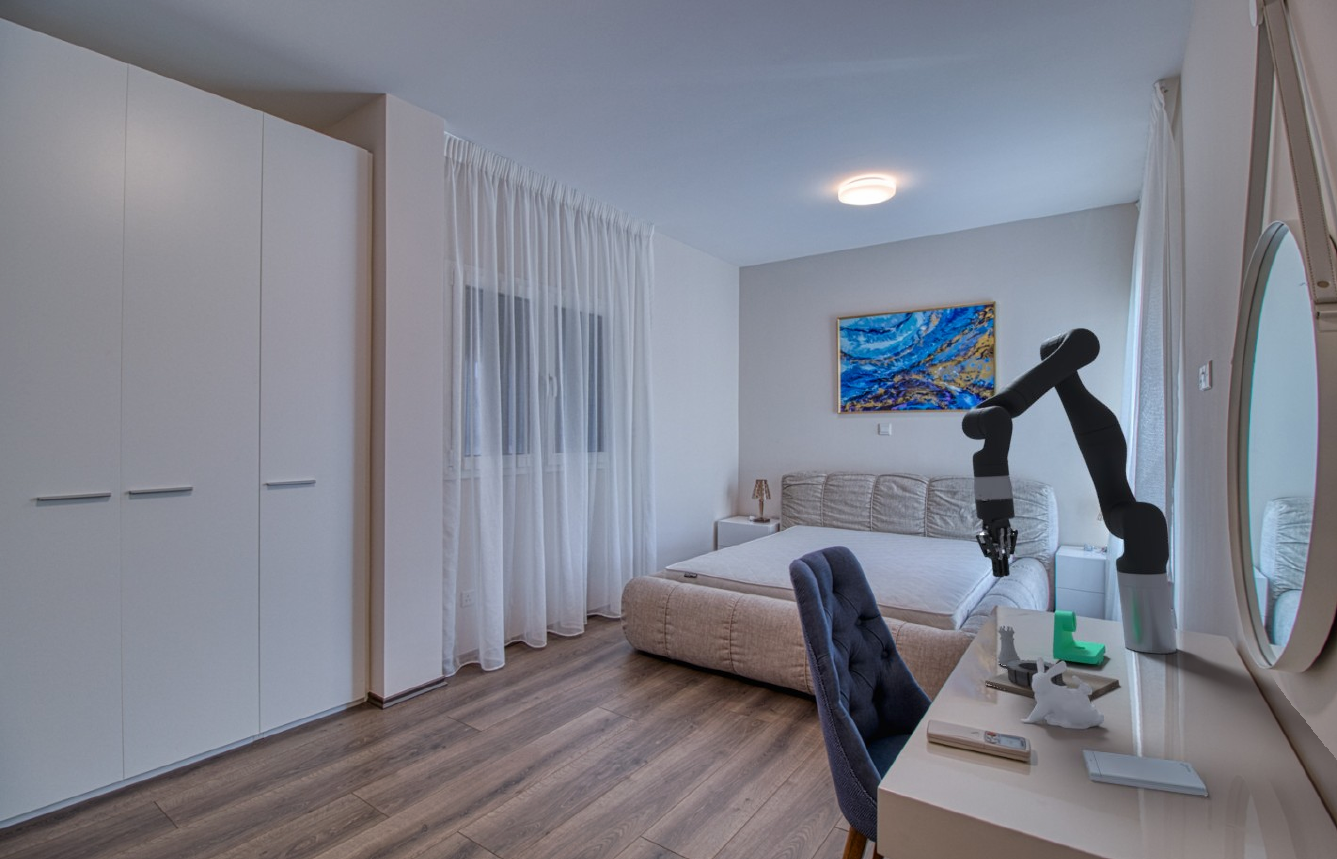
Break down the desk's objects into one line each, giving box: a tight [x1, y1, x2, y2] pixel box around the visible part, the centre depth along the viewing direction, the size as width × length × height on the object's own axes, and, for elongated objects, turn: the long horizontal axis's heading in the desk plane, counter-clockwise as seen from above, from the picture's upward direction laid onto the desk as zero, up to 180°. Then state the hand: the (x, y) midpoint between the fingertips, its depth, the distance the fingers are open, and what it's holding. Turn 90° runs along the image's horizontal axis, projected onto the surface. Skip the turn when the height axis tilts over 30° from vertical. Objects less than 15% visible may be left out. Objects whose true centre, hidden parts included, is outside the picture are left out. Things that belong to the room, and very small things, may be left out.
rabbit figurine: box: [1020, 657, 1105, 730], centre depth 105 cm, size 12×8×10 cm, turn 60°
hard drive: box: [1082, 749, 1209, 796], centre depth 85 cm, size 2×8×12 cm
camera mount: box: [1052, 609, 1106, 665], centre depth 137 cm, size 12×8×10 cm, turn 136°
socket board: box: [984, 659, 1120, 700], centre depth 121 cm, size 18×16×4 cm
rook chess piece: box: [997, 625, 1021, 666], centre depth 135 cm, size 4×4×8 cm
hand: (1001, 576), depth 137 cm, fingers closed
